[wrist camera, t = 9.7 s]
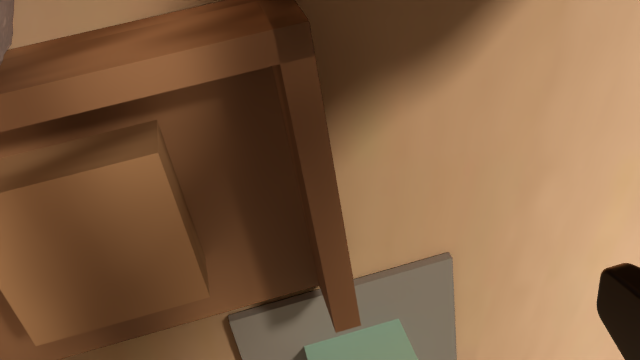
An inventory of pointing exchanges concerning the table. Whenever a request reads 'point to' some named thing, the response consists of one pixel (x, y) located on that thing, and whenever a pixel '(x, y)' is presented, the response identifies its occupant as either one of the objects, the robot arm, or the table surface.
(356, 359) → the teal block
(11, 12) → the stone block
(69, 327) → the caddy
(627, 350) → the robot arm
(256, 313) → the pad
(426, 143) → the table surface
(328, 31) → the table surface
